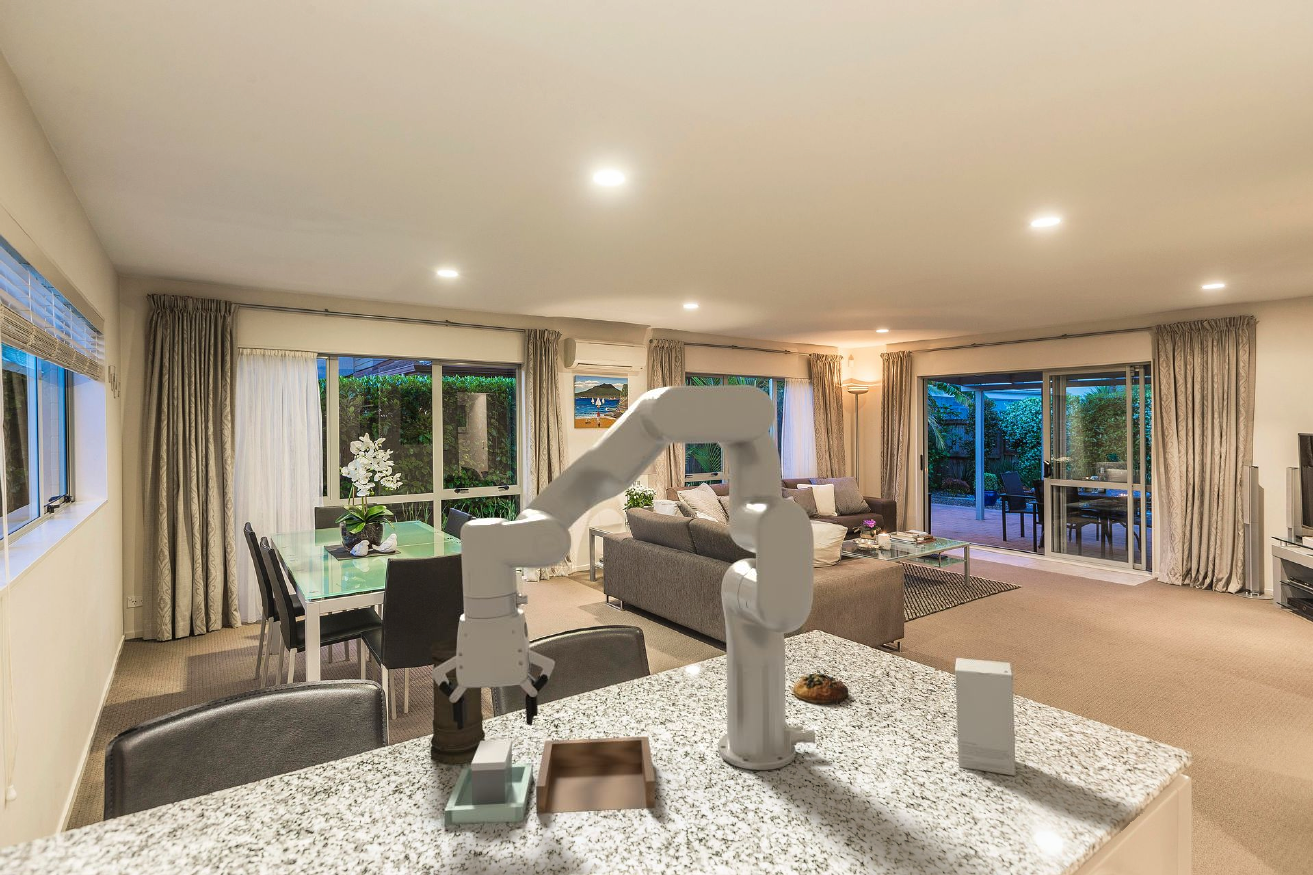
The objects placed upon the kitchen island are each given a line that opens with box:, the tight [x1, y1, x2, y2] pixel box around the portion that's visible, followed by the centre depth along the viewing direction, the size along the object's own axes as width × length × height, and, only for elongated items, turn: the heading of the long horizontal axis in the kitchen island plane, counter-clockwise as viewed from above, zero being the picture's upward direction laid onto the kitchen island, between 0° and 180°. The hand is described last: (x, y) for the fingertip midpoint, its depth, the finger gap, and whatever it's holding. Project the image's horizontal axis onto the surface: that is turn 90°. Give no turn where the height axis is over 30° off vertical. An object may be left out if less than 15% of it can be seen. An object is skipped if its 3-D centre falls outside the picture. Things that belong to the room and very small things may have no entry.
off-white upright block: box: [470, 739, 513, 805], centre depth 99 cm, size 5×7×6 cm, turn 4°
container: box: [429, 637, 486, 765], centre depth 114 cm, size 9×9×18 cm
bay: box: [535, 736, 656, 815], centre depth 102 cm, size 16×14×4 cm
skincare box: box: [954, 657, 1017, 776], centre depth 108 cm, size 8×7×16 cm
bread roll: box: [791, 672, 849, 705], centre depth 138 cm, size 11×11×5 cm
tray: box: [444, 762, 534, 827], centre depth 99 cm, size 10×12×2 cm
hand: (496, 723), depth 99 cm, fingers open, 9 cm apart
